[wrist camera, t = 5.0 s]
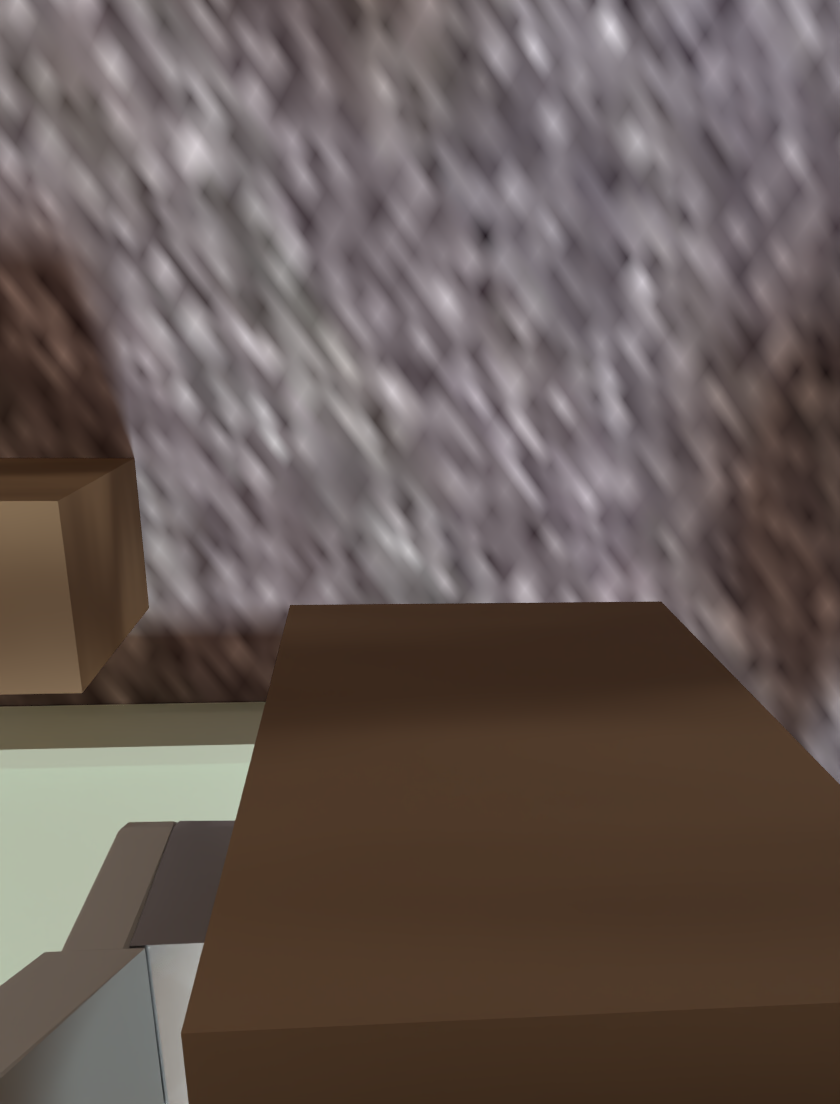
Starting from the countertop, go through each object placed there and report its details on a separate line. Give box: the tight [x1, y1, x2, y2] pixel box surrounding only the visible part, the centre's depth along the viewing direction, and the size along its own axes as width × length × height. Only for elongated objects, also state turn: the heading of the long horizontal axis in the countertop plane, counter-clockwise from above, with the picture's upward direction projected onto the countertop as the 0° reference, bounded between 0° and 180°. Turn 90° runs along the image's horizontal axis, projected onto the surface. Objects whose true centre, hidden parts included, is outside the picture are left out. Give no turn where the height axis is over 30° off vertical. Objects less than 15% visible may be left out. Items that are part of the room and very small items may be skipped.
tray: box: [0, 702, 265, 986], centre depth 24 cm, size 15×15×2 cm
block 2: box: [181, 602, 840, 1104], centre depth 7 cm, size 4×4×6 cm
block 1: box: [0, 458, 149, 695], centre depth 19 cm, size 4×4×6 cm
